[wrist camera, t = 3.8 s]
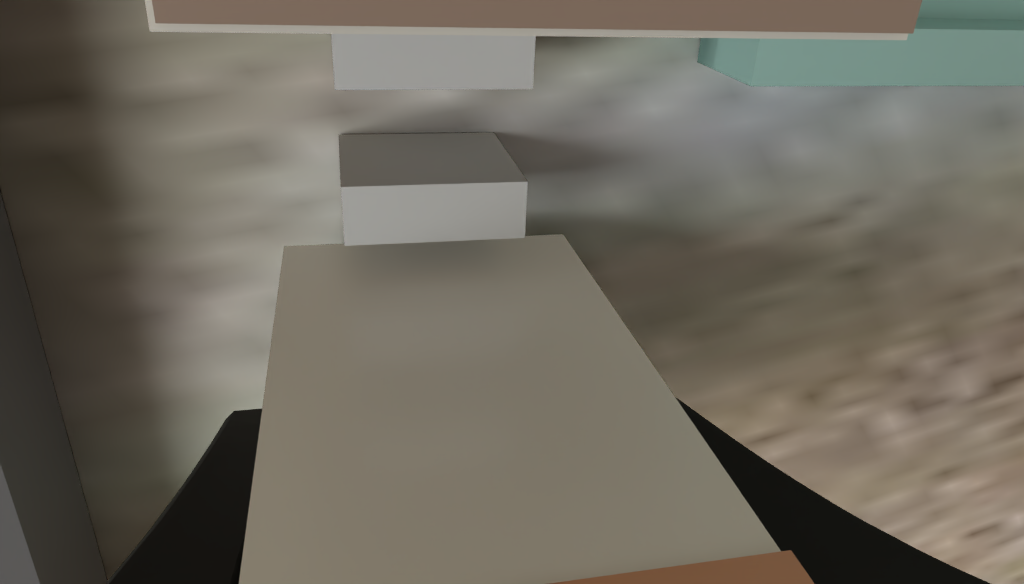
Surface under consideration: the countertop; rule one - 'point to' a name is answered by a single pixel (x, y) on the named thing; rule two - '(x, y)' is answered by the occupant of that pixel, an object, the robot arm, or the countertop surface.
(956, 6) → the tray
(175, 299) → the countertop surface
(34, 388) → the clip block
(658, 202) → the countertop surface
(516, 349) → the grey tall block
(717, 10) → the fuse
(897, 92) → the countertop surface
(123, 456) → the countertop surface
